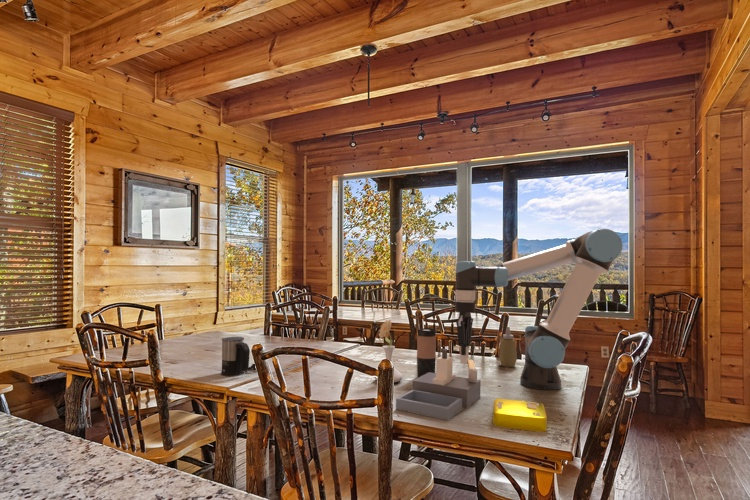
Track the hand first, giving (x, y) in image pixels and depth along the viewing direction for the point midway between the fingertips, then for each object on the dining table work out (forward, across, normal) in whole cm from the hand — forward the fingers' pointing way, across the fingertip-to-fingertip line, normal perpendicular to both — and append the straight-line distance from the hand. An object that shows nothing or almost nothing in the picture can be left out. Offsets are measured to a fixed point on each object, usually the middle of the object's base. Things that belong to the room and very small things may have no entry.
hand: (464, 363), depth 167 cm
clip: (+3, +5, +4) cm, 7 cm away
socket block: (+10, +14, -1) cm, 17 cm away
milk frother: (+10, +30, -88) cm, 93 cm away
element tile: (+10, +23, +26) cm, 36 cm away
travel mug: (+10, -6, -18) cm, 21 cm away
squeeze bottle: (+9, -47, +5) cm, 48 cm away
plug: (+7, +15, -2) cm, 17 cm away
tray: (+10, +29, -2) cm, 31 cm away
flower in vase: (+10, +8, -28) cm, 31 cm away
